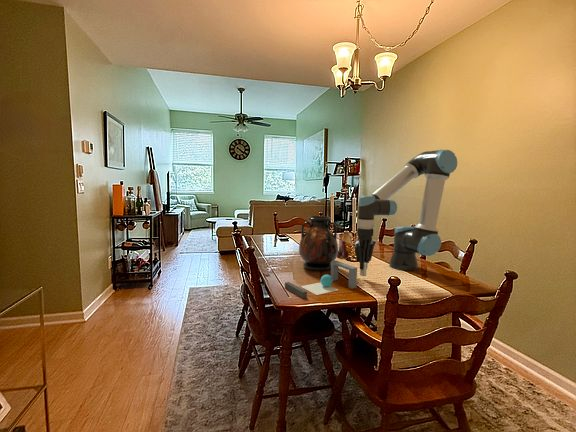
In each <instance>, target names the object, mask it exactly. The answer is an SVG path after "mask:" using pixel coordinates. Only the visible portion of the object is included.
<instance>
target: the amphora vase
mask: <svg viewBox="0 0 576 432" xmlns="http://www.w3.org/2000/svg"><path fill="white" fill-rule="evenodd" d="M307 220H308V221H304V222H303V223H302V224H301V236H300V238H301V239H300V240H299V241H300V242H299V245H298V253H299V256H300V258H301V259H302V260H303V264H302V266H303V268H304V269H306V270H309V271H313V272H326V271H331V261H335V260H336V259H337V255H338V251H339V242H338V240H337V239H338V237H337V236H338V228H337V225H336V223H335V222H331V221H332V218H331V217H330V216H324V215H312V216H308V217H307ZM309 221H310V222H309ZM329 221H330V222H329ZM328 222H329V223H328ZM305 225H308V227H309V229H308V230H307V231H306V232H305V230H304V228H305ZM331 225H332V226H333V228H334V234H333V233H332V231H331V230H330V229H329V228H330V226H331Z"/></svg>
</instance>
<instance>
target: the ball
mask: <svg viewBox="0 0 576 432" xmlns="http://www.w3.org/2000/svg"><path fill="white" fill-rule="evenodd" d="M320 282H321V284H322V285H323V286H324V287H329V286H331V287H332V285H333V282H334V281H333V279H332V277H331V274H324V275H322V276H321V278H320Z"/></svg>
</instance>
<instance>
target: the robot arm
mask: <svg viewBox="0 0 576 432" xmlns="http://www.w3.org/2000/svg"><path fill="white" fill-rule="evenodd" d="M457 167H458V158H457V156H456V154H455V153H454V152H453V150H450V149H438V150H430V151H423V152H421V153H419V154H417V155H416V156H414V157H413V158H411V159H410V160H409V161H407V162H406V163H405V164H404V165H403V168H402V169H400V170H399V171H398V172H397V173H396V174H395V175H393V176H392V177H390V179H388V180H387V181H386V182H385V183H383V185H381V186H380V187H378V189H376V190H375V191H374V192H372V193H371V194H370V195H359V197H358V203H357V204H358V206H357V207H358V208H357V210H358V213H357V228H356V229H357V231H356V235H357V236H358V237H357V239H356V240H357V241H356V242H353V244H352V245H353V246H354V252H355V260H356V262H358V263H359V270H360V271H359V275H360V276H361V277H367V272H368V271H367V270H368V265H369V264H370V262H371V261H372V258H373V252H374V247H375V245H376V241H375V240H373V236H374V227H375V225H374V224H375V216H393V215H395V214H396V213H397V211H398V204H397V202H396V201H395V200H393V199H390V198H391V197H393V196H395V194H396V193H397V192H399V191H400V190H401V189H402V188H403V187H405V185H407V184H408V183H409V182H411V181H412V180H413V179H417V178H419V176H422V175H424V177H425V178H426V182H425V186H424V192H423V197H422V202H421V207H420V212H419V217H418V221H417V222H418V223H417V224H416V225H414V226H397V227H395V228H394V235H393V236H394V237H393V252H392V256H391V258H390V260H389V267H391V268H393V269H396V270H402V271H416V270H419V269H418V268H419V263H418V259H417V256H416V254H419V255H421V256H425V257H430V256H434V255H435V254H437V252H439V251H440V248H441V246H442V239H441V237H440V236H439V230H438V229H437V223H438V218H439V213H440V208H441V203H442V198H443V192H444V187H445V183H446V181H447V180H449V178H450V175H451V173H454V172H455V170H456V169H457Z"/></svg>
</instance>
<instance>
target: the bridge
mask: <svg viewBox="0 0 576 432" xmlns="http://www.w3.org/2000/svg"><path fill="white" fill-rule="evenodd" d="M339 267H340V268H343V269H345V270H347V271H348V288H349V289H357V284H358V283H357V281H358V267H356V266H353V265H350V264H348V263H345V262H341V261H340V260H339V261H338V260H336V259H335V260H334V261H331V269H330V276H331V277H332V279H333V282H335V281H339Z"/></svg>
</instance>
